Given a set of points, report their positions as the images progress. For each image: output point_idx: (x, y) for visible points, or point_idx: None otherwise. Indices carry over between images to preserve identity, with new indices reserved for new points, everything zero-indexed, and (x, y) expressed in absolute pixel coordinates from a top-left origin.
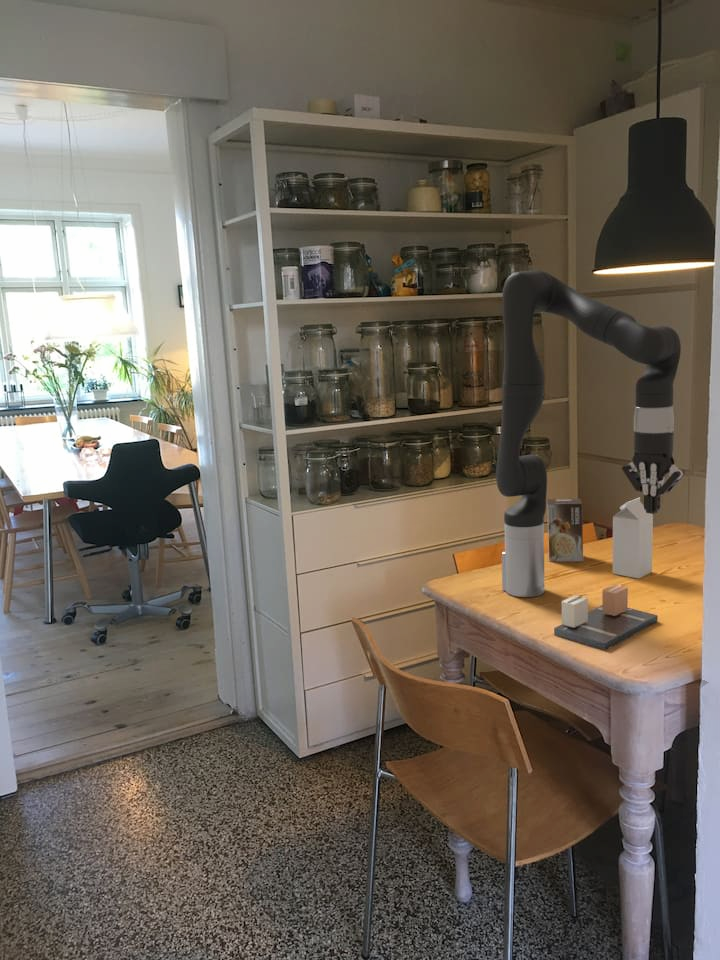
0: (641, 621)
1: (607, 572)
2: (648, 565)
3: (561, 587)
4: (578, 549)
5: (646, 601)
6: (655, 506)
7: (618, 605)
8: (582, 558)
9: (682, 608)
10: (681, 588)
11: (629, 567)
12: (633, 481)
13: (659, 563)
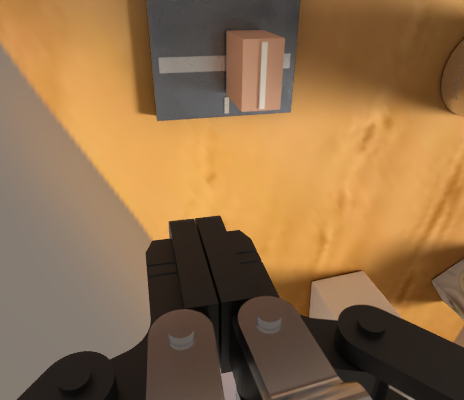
0: (160, 54)
1: (373, 270)
2: None
3: (419, 147)
4: (455, 291)
5: (242, 200)
6: (156, 263)
7: (232, 53)
8: (436, 283)
9: (164, 218)
10: None
11: (339, 290)
12: (460, 376)
13: None
